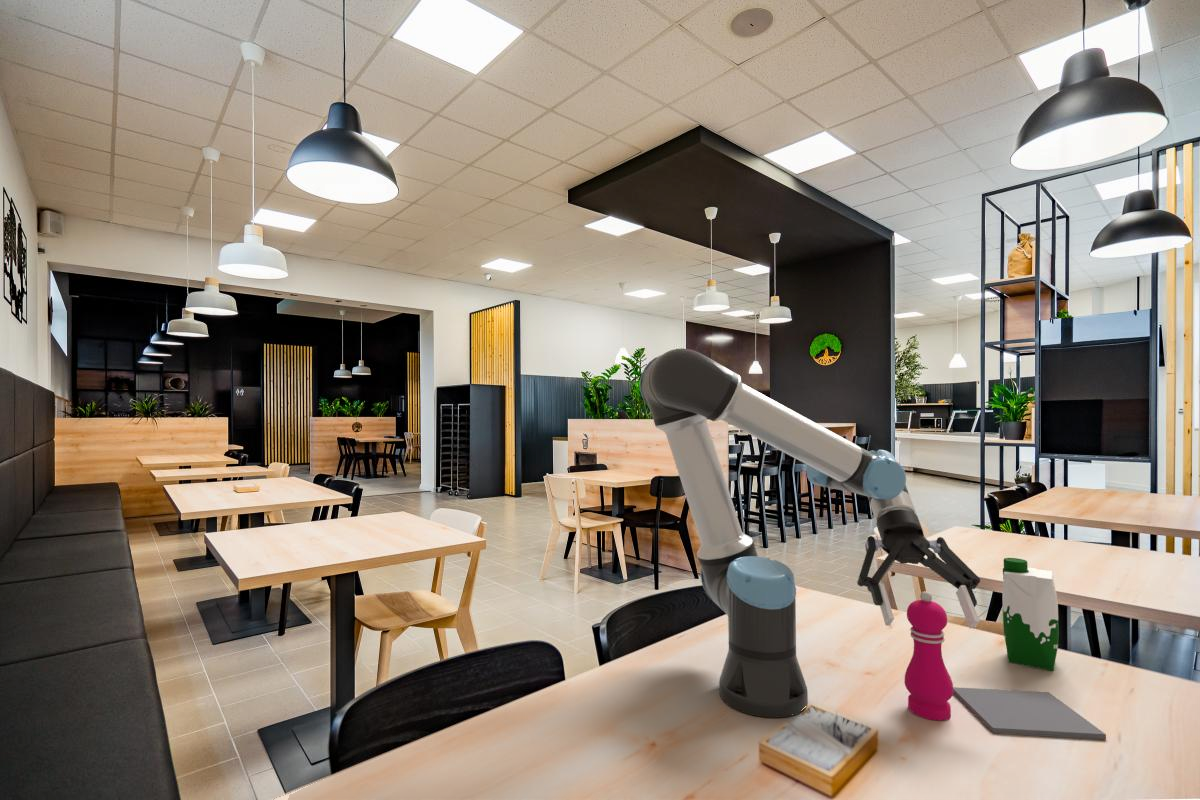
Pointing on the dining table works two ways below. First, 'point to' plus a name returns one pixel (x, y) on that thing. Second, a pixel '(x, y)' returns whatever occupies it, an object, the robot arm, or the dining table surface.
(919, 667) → the pepper mill
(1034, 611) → the milk carton
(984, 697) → the rubber mat
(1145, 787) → the dining table surface
